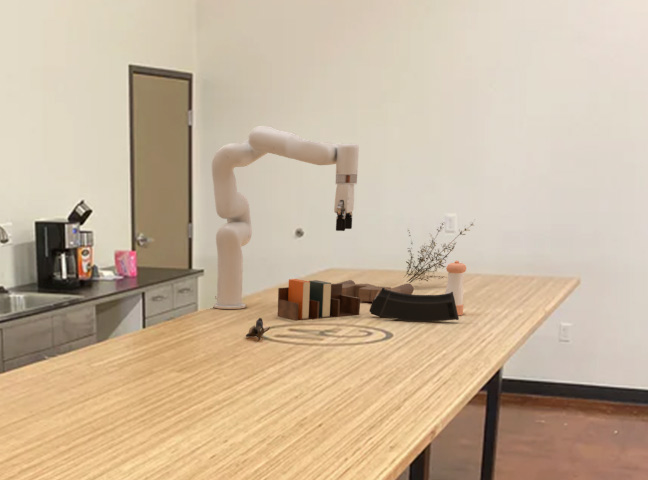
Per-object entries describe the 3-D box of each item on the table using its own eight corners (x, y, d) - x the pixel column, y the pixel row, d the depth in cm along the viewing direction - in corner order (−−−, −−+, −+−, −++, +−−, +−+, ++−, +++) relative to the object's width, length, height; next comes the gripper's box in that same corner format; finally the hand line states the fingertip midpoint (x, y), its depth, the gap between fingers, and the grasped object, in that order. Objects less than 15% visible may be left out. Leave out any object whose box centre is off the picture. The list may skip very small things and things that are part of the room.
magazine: (467, 296, 368) (385, 268, 375) (467, 297, 365) (384, 269, 372) (449, 342, 375) (368, 314, 381) (448, 344, 372) (367, 315, 378)
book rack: (277, 318, 383) (278, 287, 380) (339, 312, 394) (341, 283, 391) (295, 322, 373) (297, 291, 370) (359, 317, 384) (360, 286, 381)
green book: (307, 314, 387) (308, 280, 383) (315, 313, 388) (316, 280, 384) (321, 317, 379) (323, 283, 375) (330, 316, 380) (331, 282, 376)
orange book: (287, 315, 383) (288, 279, 379) (294, 315, 384) (295, 278, 380) (301, 319, 375) (303, 282, 371) (308, 318, 376) (310, 281, 372)
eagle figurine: (275, 337, 339) (267, 327, 346) (265, 319, 335) (257, 310, 343) (255, 350, 339) (247, 340, 347) (245, 333, 336) (237, 323, 344)
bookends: (393, 305, 412) (419, 296, 436) (394, 290, 411) (420, 282, 434) (310, 299, 430) (339, 290, 454) (311, 285, 428) (339, 277, 452)
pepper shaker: (466, 313, 390) (471, 260, 384) (456, 316, 385) (461, 262, 379) (448, 311, 395) (452, 259, 389) (438, 314, 390) (442, 260, 384)
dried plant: (428, 250, 436) (481, 200, 458) (366, 252, 459) (419, 203, 480) (445, 315, 452) (495, 263, 473) (383, 314, 474) (434, 264, 496)
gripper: (341, 179, 385) (339, 227, 390) (329, 180, 370) (327, 231, 376) (362, 179, 382) (359, 228, 388) (350, 180, 367) (348, 231, 373)
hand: (343, 229), depth 382 cm, fingers open, 9 cm apart
